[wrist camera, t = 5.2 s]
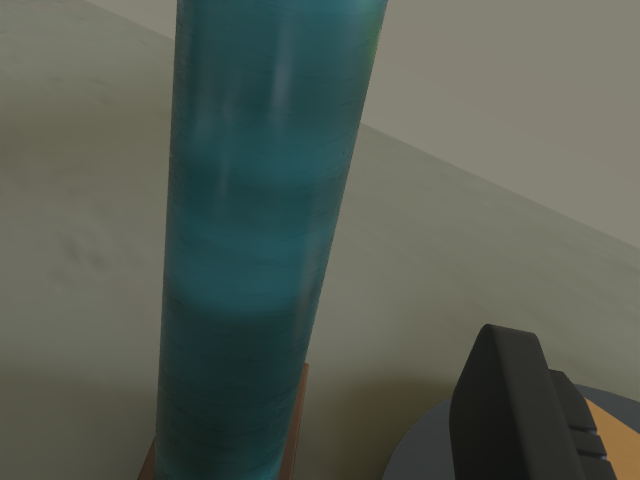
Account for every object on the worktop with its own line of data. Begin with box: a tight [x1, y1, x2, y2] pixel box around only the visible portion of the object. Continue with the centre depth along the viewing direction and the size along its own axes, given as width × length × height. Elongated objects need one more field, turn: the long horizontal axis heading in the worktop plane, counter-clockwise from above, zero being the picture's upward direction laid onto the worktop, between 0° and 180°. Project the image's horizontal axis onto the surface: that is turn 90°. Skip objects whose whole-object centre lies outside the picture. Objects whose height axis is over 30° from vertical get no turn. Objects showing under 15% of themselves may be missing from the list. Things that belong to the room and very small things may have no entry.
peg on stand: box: [137, 0, 388, 480], centre depth 11 cm, size 9×4×15 cm, turn 175°
